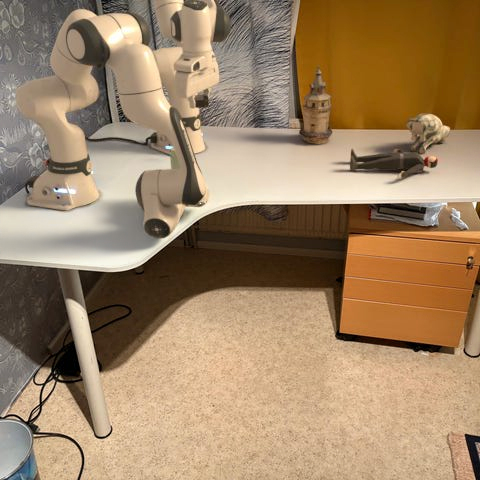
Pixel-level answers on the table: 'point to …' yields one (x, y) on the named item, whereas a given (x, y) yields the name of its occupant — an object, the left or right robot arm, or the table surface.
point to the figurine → (427, 131)
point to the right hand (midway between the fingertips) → (199, 104)
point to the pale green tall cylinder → (174, 159)
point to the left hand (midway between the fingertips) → (180, 184)
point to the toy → (393, 162)
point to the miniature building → (316, 112)
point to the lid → (201, 101)
